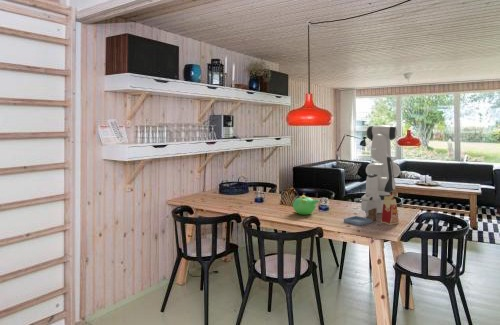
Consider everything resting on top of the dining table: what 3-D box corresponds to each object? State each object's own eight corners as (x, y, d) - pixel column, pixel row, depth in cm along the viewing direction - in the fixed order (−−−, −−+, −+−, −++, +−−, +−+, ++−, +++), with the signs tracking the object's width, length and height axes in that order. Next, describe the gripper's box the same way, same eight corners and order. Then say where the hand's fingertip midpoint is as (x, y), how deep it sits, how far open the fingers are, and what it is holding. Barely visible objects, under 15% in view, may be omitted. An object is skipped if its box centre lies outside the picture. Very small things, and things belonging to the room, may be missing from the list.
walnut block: (370, 219, 268) (370, 207, 267) (376, 220, 264) (376, 208, 263) (366, 220, 265) (366, 208, 264) (372, 221, 261) (372, 209, 260)
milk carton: (398, 223, 256) (399, 195, 254) (390, 225, 251) (391, 196, 249) (387, 220, 264) (388, 193, 262) (379, 222, 259) (380, 194, 257)
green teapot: (308, 211, 295) (308, 193, 294) (320, 215, 280) (320, 196, 278) (289, 213, 287) (289, 195, 286) (300, 217, 272) (301, 198, 271)
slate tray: (355, 219, 268) (355, 215, 268) (372, 222, 257) (372, 219, 257) (343, 222, 260) (343, 218, 259) (360, 226, 248) (360, 222, 248)
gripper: (376, 194, 272) (375, 212, 273) (359, 197, 259) (359, 216, 260) (384, 195, 267) (383, 214, 268) (367, 198, 254) (366, 218, 255)
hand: (371, 215), depth 264 cm, fingers open, 8 cm apart
